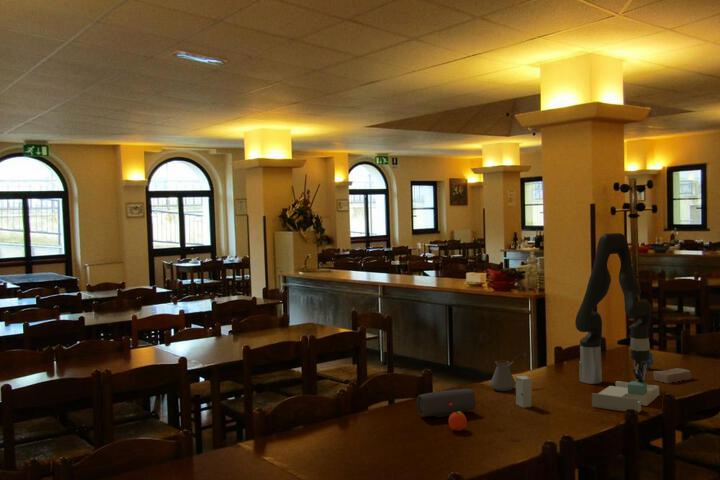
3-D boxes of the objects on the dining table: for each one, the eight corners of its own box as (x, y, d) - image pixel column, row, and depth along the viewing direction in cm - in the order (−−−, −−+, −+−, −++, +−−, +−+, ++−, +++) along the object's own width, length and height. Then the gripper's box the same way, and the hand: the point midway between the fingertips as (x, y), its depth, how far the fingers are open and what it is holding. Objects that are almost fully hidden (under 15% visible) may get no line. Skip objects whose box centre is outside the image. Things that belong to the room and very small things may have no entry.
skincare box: (515, 404, 279) (514, 376, 279) (524, 403, 281) (523, 375, 280) (523, 408, 273) (522, 379, 273) (532, 406, 275) (531, 378, 274)
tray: (592, 406, 271) (591, 393, 271) (616, 389, 295) (616, 377, 295) (637, 413, 260) (637, 399, 259) (659, 395, 284) (658, 382, 284)
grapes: (627, 367, 335) (626, 344, 335) (634, 365, 339) (633, 342, 339) (648, 371, 326) (648, 347, 326) (656, 369, 330) (655, 345, 330)
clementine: (456, 425, 254) (455, 407, 254) (472, 428, 250) (471, 410, 250) (445, 431, 248) (444, 412, 248) (461, 434, 244) (460, 415, 243)
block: (627, 393, 274) (627, 384, 274) (632, 390, 279) (631, 380, 278) (642, 395, 270) (642, 385, 270) (647, 392, 275) (646, 382, 275)
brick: (677, 376, 316) (676, 366, 316) (692, 379, 308) (692, 369, 308) (652, 381, 309) (652, 371, 308) (667, 385, 301) (667, 374, 301)
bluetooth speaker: (424, 421, 261) (423, 396, 261) (416, 415, 270) (415, 391, 270) (477, 414, 267) (476, 390, 267) (467, 408, 276) (466, 385, 276)
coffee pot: (504, 393, 297) (502, 360, 296) (485, 389, 306) (484, 357, 306) (535, 385, 309) (534, 353, 309) (516, 381, 318) (515, 350, 318)
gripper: (635, 344, 286) (636, 384, 286) (626, 350, 275) (627, 391, 276) (653, 346, 281) (654, 386, 281) (644, 351, 271) (646, 393, 271)
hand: (641, 388), depth 279 cm, fingers closed
